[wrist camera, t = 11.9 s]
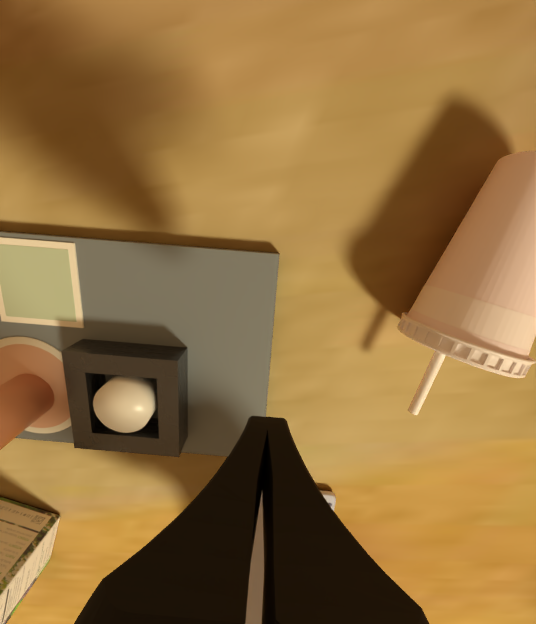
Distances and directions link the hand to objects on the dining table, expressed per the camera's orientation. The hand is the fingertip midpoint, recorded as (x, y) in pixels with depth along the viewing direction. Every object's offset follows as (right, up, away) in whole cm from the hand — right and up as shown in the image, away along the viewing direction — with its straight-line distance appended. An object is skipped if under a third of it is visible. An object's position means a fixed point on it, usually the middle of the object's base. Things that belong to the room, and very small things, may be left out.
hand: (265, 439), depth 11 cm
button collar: (-9, 0, +10) cm, 14 cm away
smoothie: (+13, +12, +3) cm, 18 cm away
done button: (-9, -1, +9) cm, 13 cm away
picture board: (-10, +2, +10) cm, 14 cm away
